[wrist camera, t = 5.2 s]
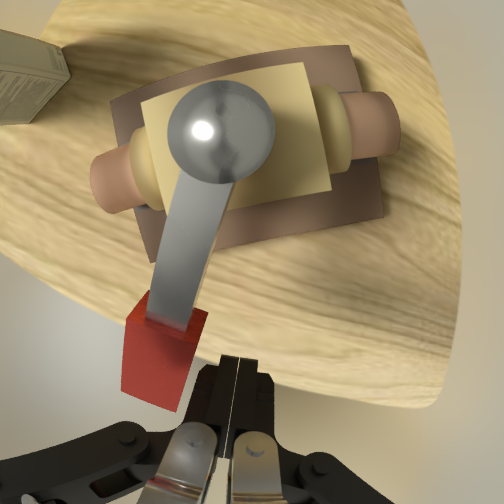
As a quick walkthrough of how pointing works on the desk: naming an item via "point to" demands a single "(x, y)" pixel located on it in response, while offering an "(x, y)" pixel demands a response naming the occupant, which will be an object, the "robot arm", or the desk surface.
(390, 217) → the desk surface
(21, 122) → the skincare box
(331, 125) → the valve rig
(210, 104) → the valve lever
